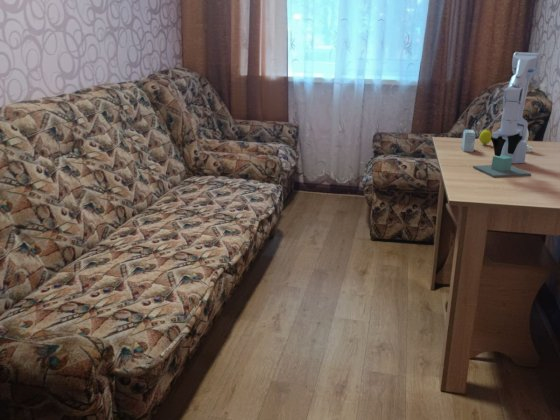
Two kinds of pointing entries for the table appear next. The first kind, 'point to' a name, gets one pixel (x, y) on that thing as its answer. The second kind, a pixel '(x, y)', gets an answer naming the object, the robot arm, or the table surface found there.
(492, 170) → the grey blue flat plate
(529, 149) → the cable organizer
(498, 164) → the cube
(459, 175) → the table surface
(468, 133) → the medicine box
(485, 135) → the fruit
